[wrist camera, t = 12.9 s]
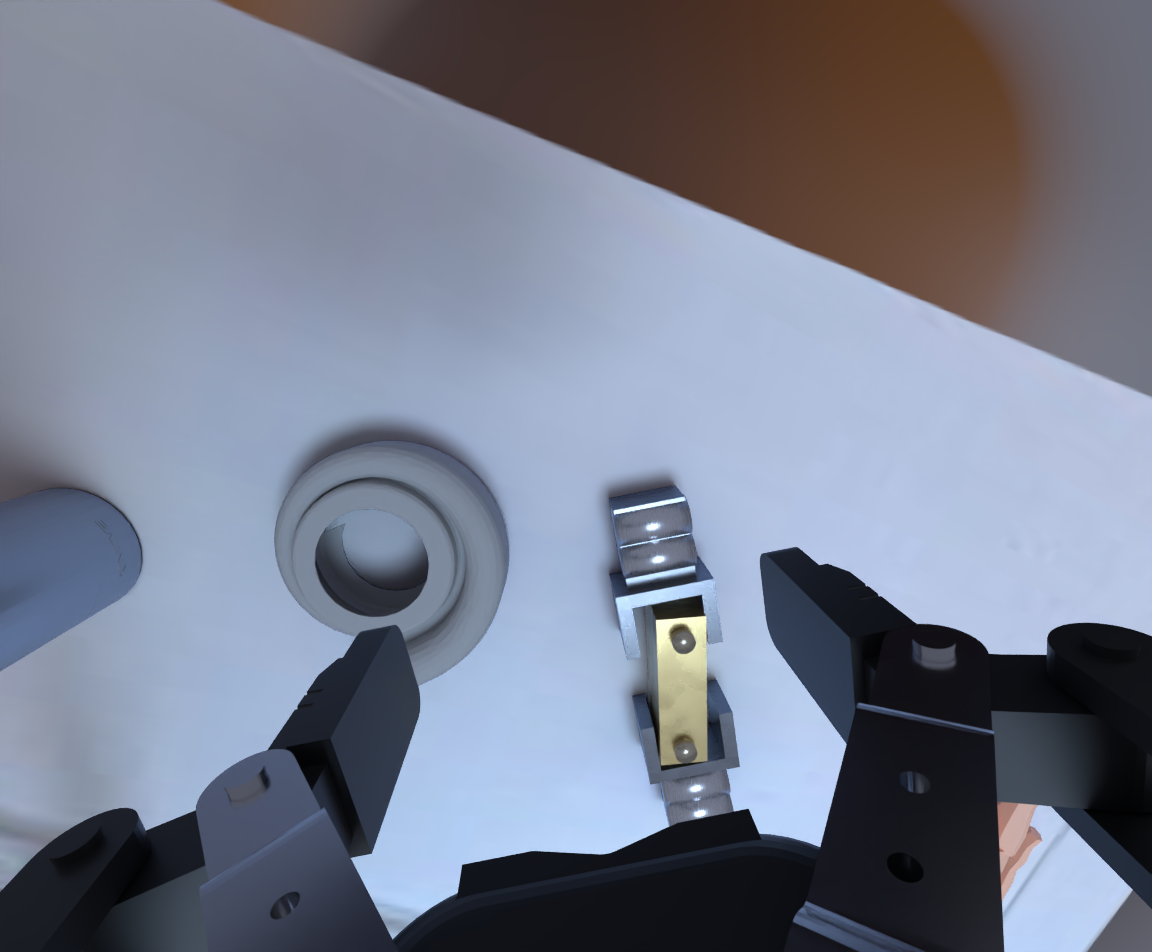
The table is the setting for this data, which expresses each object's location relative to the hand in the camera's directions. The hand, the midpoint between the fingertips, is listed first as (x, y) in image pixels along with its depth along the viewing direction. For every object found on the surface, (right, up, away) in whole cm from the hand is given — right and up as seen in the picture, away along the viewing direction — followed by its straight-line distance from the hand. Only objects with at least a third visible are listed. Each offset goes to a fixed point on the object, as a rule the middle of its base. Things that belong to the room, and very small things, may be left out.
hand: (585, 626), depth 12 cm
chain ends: (+7, -11, +32) cm, 35 cm away
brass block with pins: (+7, -11, +32) cm, 35 cm away
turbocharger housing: (-13, -2, +29) cm, 32 cm away
